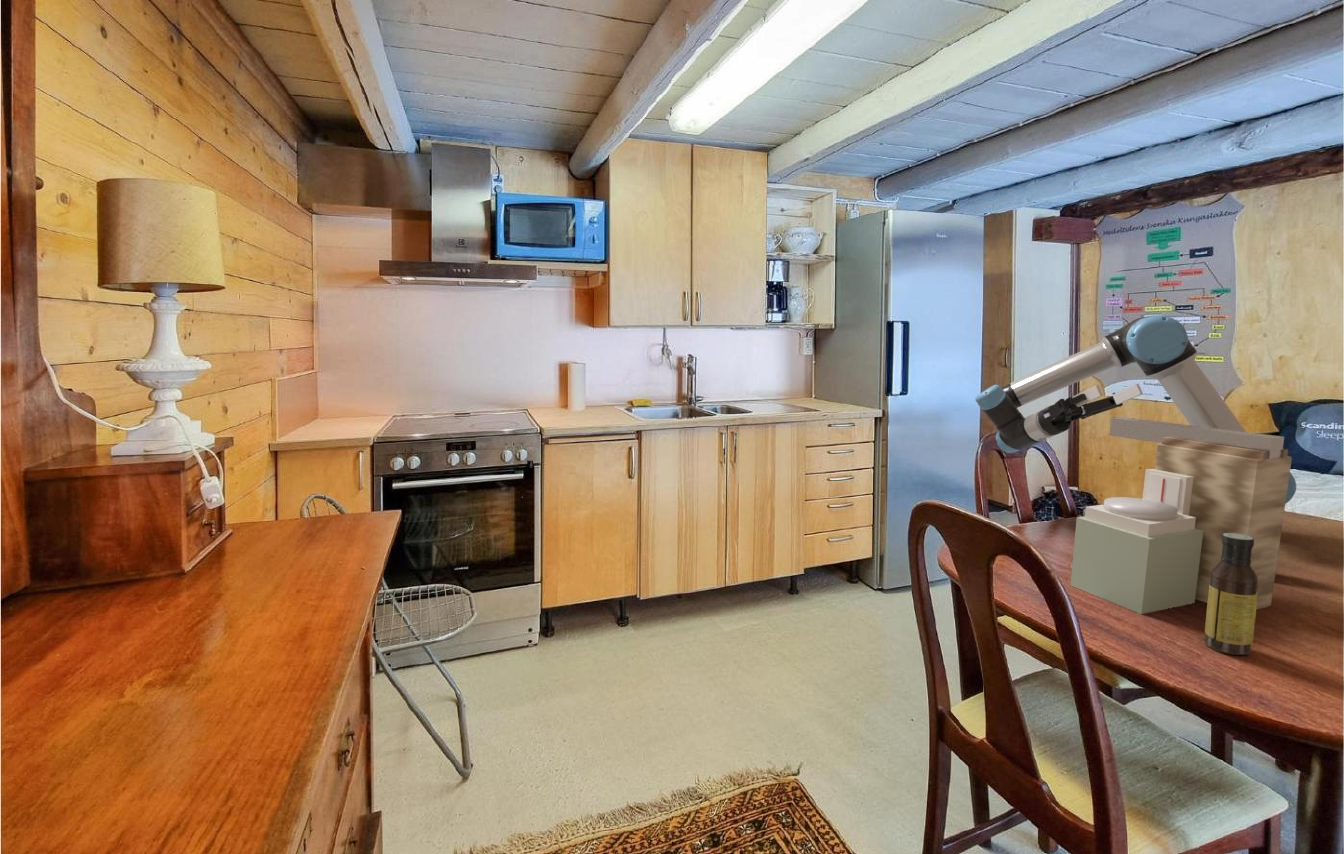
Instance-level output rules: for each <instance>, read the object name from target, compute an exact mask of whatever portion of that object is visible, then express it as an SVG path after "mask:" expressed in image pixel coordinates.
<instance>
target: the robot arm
mask: <svg viewBox="0 0 1344 854" xmlns="http://www.w3.org/2000/svg"><path fill="white" fill-rule="evenodd" d="M1197 354H1198V351H1197V349H1196V348H1195V347H1194V345H1193V343H1191V341H1190V340H1189V336H1188V332H1187V331H1186V328H1185V327H1184V325H1183V324H1182V323H1181V322H1180V321H1178V320H1177V319H1175V318H1172V317H1170V316H1167V315H1161V314H1157V315H1156V314H1154V315H1149V316H1143V317H1142V316H1141V317H1139V318H1136V319H1134V320H1132V321H1130V322H1129V323H1127V324H1126V325H1123V326H1122V327H1120V328H1118V329H1117V330H1115V331H1112V332H1111V333H1109V334H1107V335H1105V336H1103V337H1102V339H1101V341H1100V342H1098V343H1096V344H1093V345H1092V346H1089V347H1087V348H1085V349H1083V350H1081V351H1079V352H1076V353H1074V354H1071V355H1069V356H1067V357H1065V358H1062V359H1060V360H1058V361H1057V362H1054V363H1052V364H1049V365H1047V366H1045V367H1043V368H1041V369H1038V370H1036V371H1034V372H1031V373H1030V374H1027V375H1025V376H1023V377H1021V378H1018V379H1016V380H1014V381H1012V382H1010V383H1008V384H1005V385H1003V386H1001V385H998V384H994V385H991V386H990V387H987V388H986V389H984V390H983V391H982V392H980V393H979V394H978V395H977V396H975V398H974V399H975V402H976V404H977V405H978V406H979V408H980V410H981V411H983V413H984V414H985V416H986V417H987V418H988V419H989V421H990V422H991V423H992V424H993V426H995V428H996V429H997V432H996V434H995V441H996V442H997V444H996V445H997V446H998V447H999V448H1000V450H1001V451H1003V452H1005V453H1007V454H1013V453H1016V452H1020V451H1024V450H1026V449H1028V448H1030V447H1032V446H1034V445H1036V444H1038V443H1040V442H1043V443H1045V442H1047V439H1049V438H1052V437H1054V436H1056V435H1060V434H1062V433H1064V432H1066V431H1068V430H1069V429H1070V427H1071V423H1072V422H1076V421H1078V420H1079V419H1081V420H1086V419H1087V418H1089V417H1092V416H1094V415H1098V414H1101V413H1104V412H1107V411H1111V410H1113V409H1116V408H1121V407H1122V406H1123V405H1124V403H1125V402H1128V401H1131V400H1132V399H1134V398H1136V397H1138V396H1142V395H1143V391H1142V389H1141V387H1140V384H1139V383H1134V384H1133V385H1131V386H1128V387H1126V388H1124V389H1121V390H1119V391H1117V392H1113V393H1112V395H1111V396H1108V397H1105V398H1101V397H1104V396H1103V393H1102V390H1101V389H1100V386H1099V384H1098V385H1097V384H1096V385H1093V386H1092V387H1089V388H1088V389H1086V390H1084V391H1081V392H1079V393H1077V394H1075V395H1073V396H1072V397H1067V398H1066V399H1065V398H1059V400H1057V401H1055V403H1054V404H1052V405H1049V406H1047V407H1045V408H1043V409H1041V410H1039V411H1036V412H1034V413H1032V414H1030V415H1028V416H1026V417H1024V416H1023V414H1022V413H1021V411H1020V410H1019V409H1018V408H1020V407H1022V406H1024V405H1027V404H1029V403H1031V402H1034V401H1036V400H1038V399H1040V398H1044V397H1046V396H1048V395H1050V394H1053V393H1055V392H1057V391H1059V390H1061V389H1064V388H1066V387H1069V386H1071V385H1073V384H1076V383H1078V382H1081V381H1083V380H1085V379H1087V378H1090V377H1092V376H1095V375H1097V374H1100V373H1101V372H1104V371H1106V370H1108V369H1111V368H1114V367H1117V368H1123V367H1125V366H1128V365H1130V364H1133V363H1137V365H1138V366H1139V368H1140V369H1141V371H1142V372H1143V374H1144V375H1145V376H1146V377H1147V378H1151V379H1156V380H1157V381H1158V382H1159V383H1160V385H1161V386H1162V388H1163V389H1164V390H1165V392H1166V394H1167V395H1168V396H1169V398H1170V399H1171V401H1172V402H1173V403H1174V405H1175V406H1176V407H1177V409H1178V410H1179V411H1180V413H1181V414H1182V416H1183V417H1184V419H1185V420H1186V421H1187V423H1188V425H1191V426H1199V427H1208V428H1216V429H1224V430H1232V431H1240V432H1247V431H1246V429H1245V428H1244V426H1243V424H1242V423H1241V422H1240V421H1239V420H1238V418H1237V417H1236V415H1235V414H1234V413H1233V412H1232V410H1231V408H1230V407H1229V406H1228V405H1227V403H1226V401H1224V399H1223V397H1222V396H1221V395H1220V394H1219V392H1218V391H1217V389H1216V388H1215V387H1214V385H1213V384H1212V383H1211V381H1210V380H1209V379H1208V377H1207V376H1206V374H1205V373H1204V372H1203V370H1202V369H1201V367H1200V366H1199V365H1198V363H1197V362H1196V357H1197ZM1099 398H1101V399H1099ZM1096 399H1098V400H1096ZM1296 490H1297V481H1296V479H1295V477H1294V475H1293V474H1292V473H1291V472H1290V474H1289V481H1288V488H1287V495H1286V502H1285V505H1286V504H1288V503H1289V502H1290V501H1291V500H1292V499H1293V498H1294V496H1295V493H1296V492H1297V491H1296Z"/></svg>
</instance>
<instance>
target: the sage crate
mask: <svg viewBox="0 0 1344 854" xmlns="http://www.w3.org/2000/svg"><path fill="white" fill-rule="evenodd" d="M1075 520H1076V521H1075V532H1074V533H1075V535H1074V544H1073V554H1072V555H1073V556H1072V564H1071V565H1072V566H1071V576H1070V586H1072V587H1073V588H1075V589H1079V590H1081V591H1083V592H1085V593H1087V594H1091V595H1093V596H1095V597H1098V598H1100V599H1103V600H1106V601H1108V602H1110V603H1113V604H1115V605H1116V606H1117V605H1118V606H1119V607H1120V606H1121V607H1123V608H1125V609H1127V610H1130V611H1132V612H1134V613H1137V614H1139V615H1144V614H1149V613H1153V612H1159V611H1163V610H1168V608H1169V609H1173V607H1174V608H1178V607H1182V606H1187V604H1188V605H1191V604H1192V603H1193V604H1195V603H1196V601H1195V600H1196V599H1195V595H1196V587H1197V579H1198V571H1199V562H1200V554H1201V546H1202V538H1203V530H1199V529H1194V530H1190V531H1183V532H1177V533H1170V534H1164V535H1158V536H1151V537H1146V536H1143V535H1139V534H1136V533H1133V532H1129V531H1126V530H1122V529H1119V528H1116V527H1112V526H1109V525H1105V524H1102V523H1099V522H1095V521H1092V520H1088V519H1085V516H1079V517H1076V519H1075Z"/></svg>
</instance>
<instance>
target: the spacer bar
mask: <svg viewBox="0 0 1344 854" xmlns="http://www.w3.org/2000/svg"><path fill="white" fill-rule="evenodd" d="M1109 436H1111V437H1112V436H1113V437H1117V438H1125V439H1129V440H1130V439H1132V440H1139V441H1144V442H1151V443H1157V444H1162V439H1163V437H1171V438H1177V439H1184V440H1191V441H1198V442H1205V443H1211V444H1218V445H1225V446H1232V447H1238V448H1245V449H1252V450H1259V451H1266V452H1268V455H1267V459H1275V458H1282V450H1283V449H1284V442H1285V436H1281V435H1272V434H1265V433H1263V434H1262V433H1257V432H1256V433H1255V432H1249V431H1246V432H1240V431H1232V430H1224V429H1216V428H1208V427H1199V426H1191V425H1190V424H1181V423H1174V422H1173V423H1172V422H1165V421H1158V420H1150V419H1149V420H1148V419H1141V418H1132V417H1126V416H1125V417H1123V416H1121V417H1111V418H1110V425H1109Z"/></svg>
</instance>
